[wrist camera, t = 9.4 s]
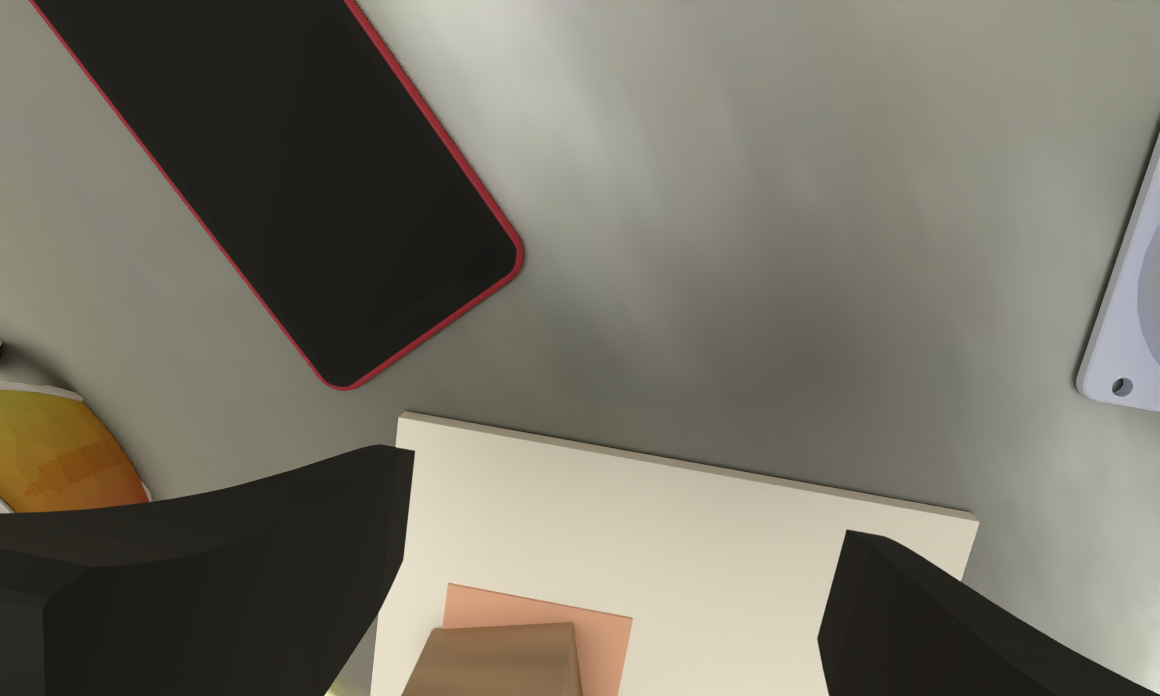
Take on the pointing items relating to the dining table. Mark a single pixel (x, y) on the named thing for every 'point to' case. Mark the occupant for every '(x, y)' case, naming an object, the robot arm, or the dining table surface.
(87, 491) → the sunglasses
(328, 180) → the smartphone
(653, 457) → the mat
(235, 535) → the robot arm
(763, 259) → the dining table surface
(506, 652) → the card box
